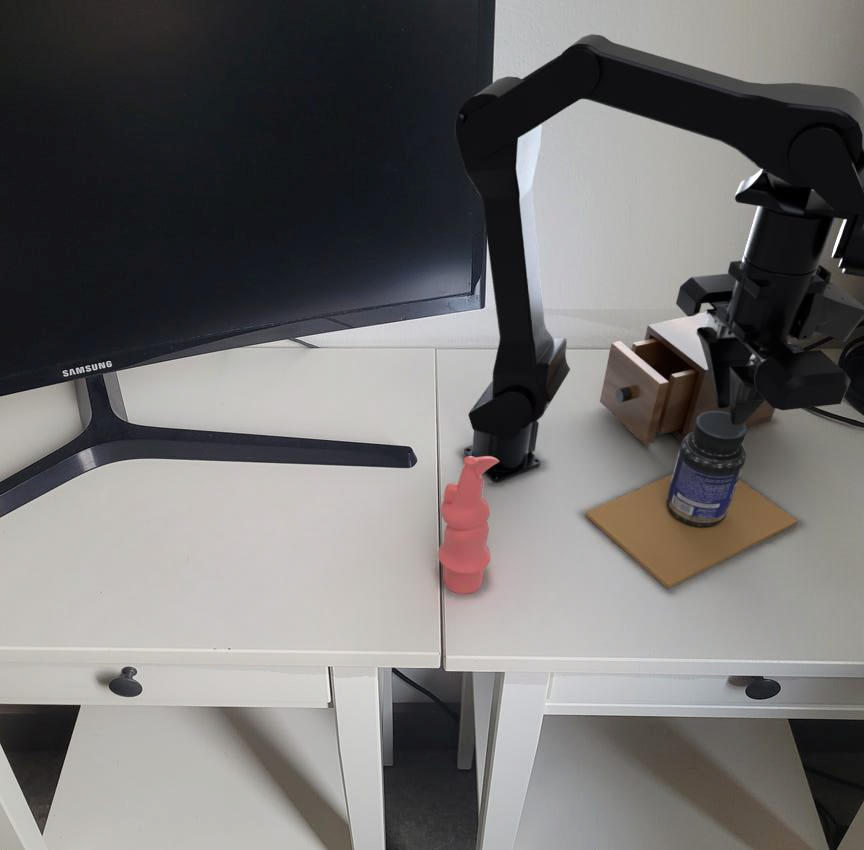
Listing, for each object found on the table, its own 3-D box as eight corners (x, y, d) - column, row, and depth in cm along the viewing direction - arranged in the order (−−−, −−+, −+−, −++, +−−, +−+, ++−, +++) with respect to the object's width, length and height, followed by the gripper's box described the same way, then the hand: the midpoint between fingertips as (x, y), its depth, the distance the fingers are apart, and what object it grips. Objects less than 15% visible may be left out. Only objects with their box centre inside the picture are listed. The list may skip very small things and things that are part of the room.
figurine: (472, 552, 81) (483, 431, 72) (499, 586, 78) (514, 464, 68) (427, 568, 80) (431, 447, 70) (452, 604, 76) (461, 481, 67)
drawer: (635, 447, 93) (650, 386, 87) (591, 403, 99) (602, 344, 94) (727, 423, 96) (746, 363, 91) (677, 382, 103) (693, 324, 98)
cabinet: (684, 444, 95) (705, 370, 88) (631, 396, 102) (647, 324, 96) (771, 420, 98) (798, 347, 92) (713, 375, 106) (734, 305, 99)
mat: (667, 589, 77) (669, 585, 77) (584, 515, 85) (585, 511, 85) (796, 524, 84) (798, 520, 84) (708, 461, 92) (709, 457, 92)
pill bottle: (734, 527, 83) (766, 442, 76) (676, 531, 83) (702, 445, 76) (711, 488, 88) (739, 404, 81) (656, 491, 87) (679, 407, 80)
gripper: (947, 305, 61) (869, 467, 71) (807, 209, 75) (758, 355, 85) (809, 318, 59) (749, 481, 69) (693, 218, 73) (657, 366, 84)
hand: (730, 415), depth 77 cm, fingers closed
